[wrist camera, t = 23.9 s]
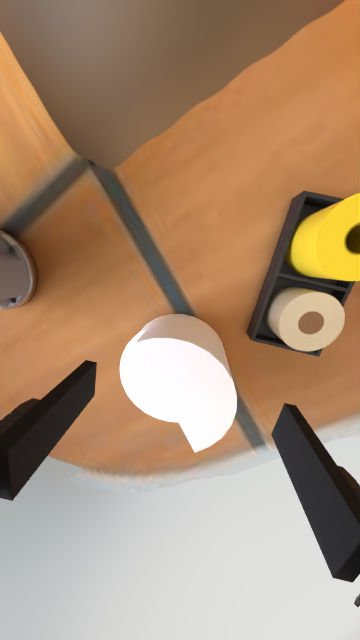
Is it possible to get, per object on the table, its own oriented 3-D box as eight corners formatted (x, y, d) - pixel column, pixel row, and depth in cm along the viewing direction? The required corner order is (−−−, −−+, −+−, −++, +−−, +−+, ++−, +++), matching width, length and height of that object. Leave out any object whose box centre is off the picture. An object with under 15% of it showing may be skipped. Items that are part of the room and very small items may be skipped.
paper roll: (257, 329, 37) (269, 343, 30) (274, 281, 35) (292, 285, 28) (305, 340, 37) (328, 357, 30) (326, 293, 34) (357, 300, 27)
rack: (246, 333, 38) (250, 340, 35) (292, 198, 31) (304, 190, 28) (308, 348, 38) (319, 356, 34) (368, 215, 31) (390, 208, 27)
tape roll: (302, 288, 34) (338, 296, 25) (273, 239, 33) (301, 229, 24) (360, 252, 32) (423, 248, 23) (332, 198, 30) (388, 169, 21)
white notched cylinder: (115, 335, 41) (77, 367, 29) (202, 297, 37) (203, 314, 24) (157, 410, 45) (140, 466, 33) (240, 383, 41) (257, 435, 28)
